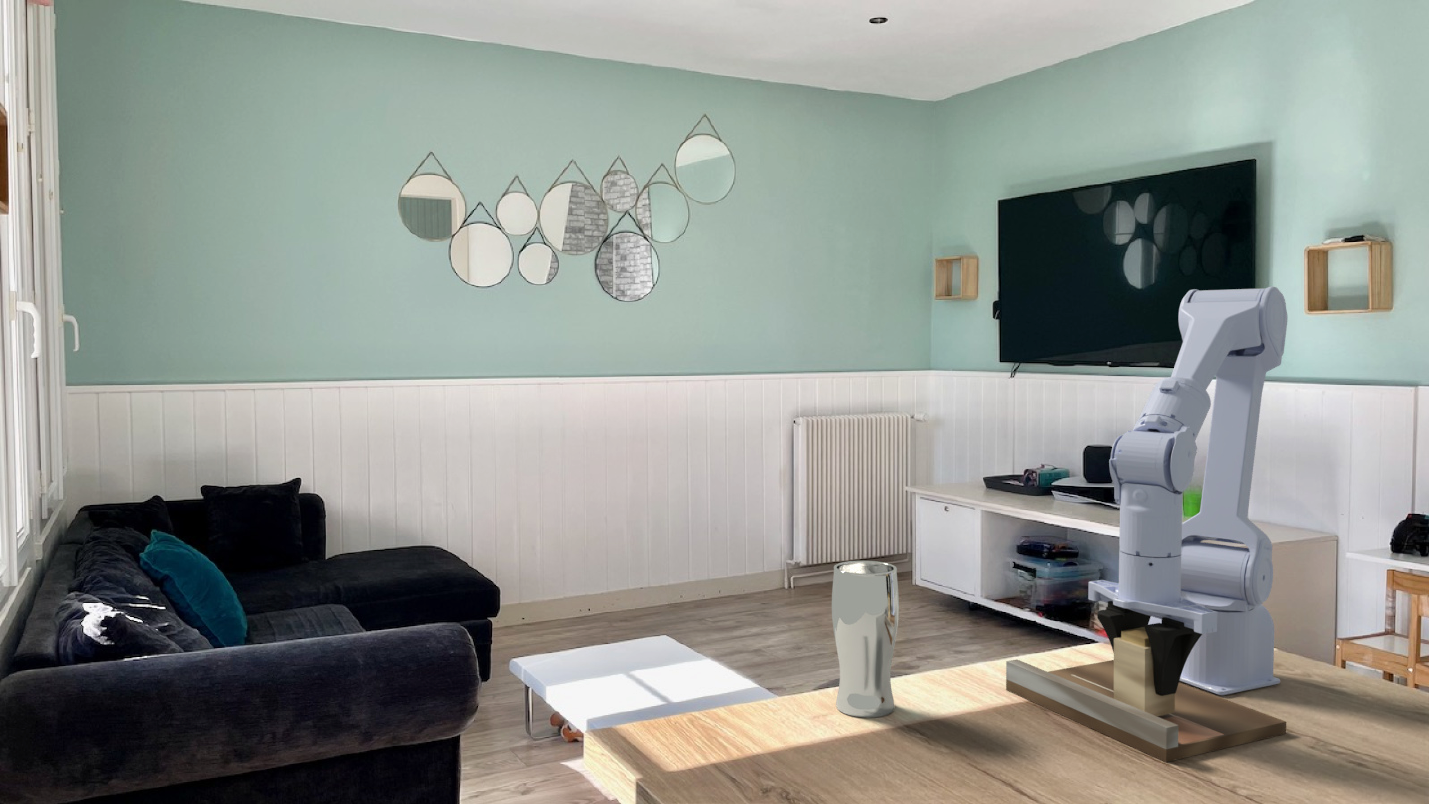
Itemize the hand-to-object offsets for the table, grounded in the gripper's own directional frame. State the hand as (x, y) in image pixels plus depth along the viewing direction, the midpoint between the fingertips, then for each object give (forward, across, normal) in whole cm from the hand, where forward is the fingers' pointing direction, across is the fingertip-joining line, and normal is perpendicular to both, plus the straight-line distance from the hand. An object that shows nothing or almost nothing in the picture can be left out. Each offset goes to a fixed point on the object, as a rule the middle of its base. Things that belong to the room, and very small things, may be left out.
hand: (1147, 686), depth 106 cm
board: (+4, -3, +2) cm, 6 cm away
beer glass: (+4, -16, -23) cm, 28 cm away
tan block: (+2, 0, 0) cm, 2 cm away
